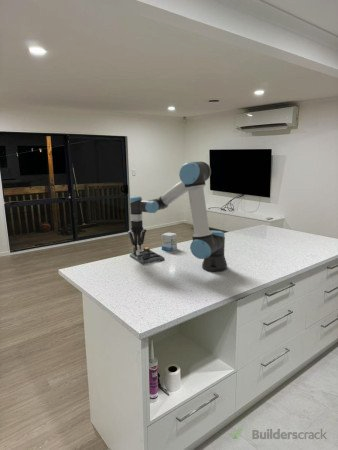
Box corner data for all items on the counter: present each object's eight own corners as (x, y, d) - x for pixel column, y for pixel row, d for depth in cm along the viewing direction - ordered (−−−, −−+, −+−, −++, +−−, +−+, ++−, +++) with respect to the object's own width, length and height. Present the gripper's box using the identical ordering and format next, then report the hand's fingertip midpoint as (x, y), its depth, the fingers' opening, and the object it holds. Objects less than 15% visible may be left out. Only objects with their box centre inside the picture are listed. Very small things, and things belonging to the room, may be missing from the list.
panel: (164, 259, 211) (164, 250, 209) (143, 264, 203) (142, 254, 201) (150, 252, 227) (150, 243, 226) (130, 256, 219) (129, 247, 218)
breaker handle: (149, 255, 214) (149, 248, 213) (145, 256, 213) (145, 248, 212) (147, 254, 217) (147, 247, 216) (143, 255, 215) (143, 247, 214)
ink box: (170, 251, 230) (170, 235, 227) (161, 249, 235) (160, 234, 232) (177, 248, 236) (177, 233, 234) (168, 246, 241) (167, 231, 239)
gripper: (142, 218, 212) (144, 251, 217) (125, 220, 206) (126, 255, 211) (148, 219, 206) (149, 254, 211) (129, 222, 199) (131, 258, 204)
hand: (138, 254), depth 211 cm, fingers closed
